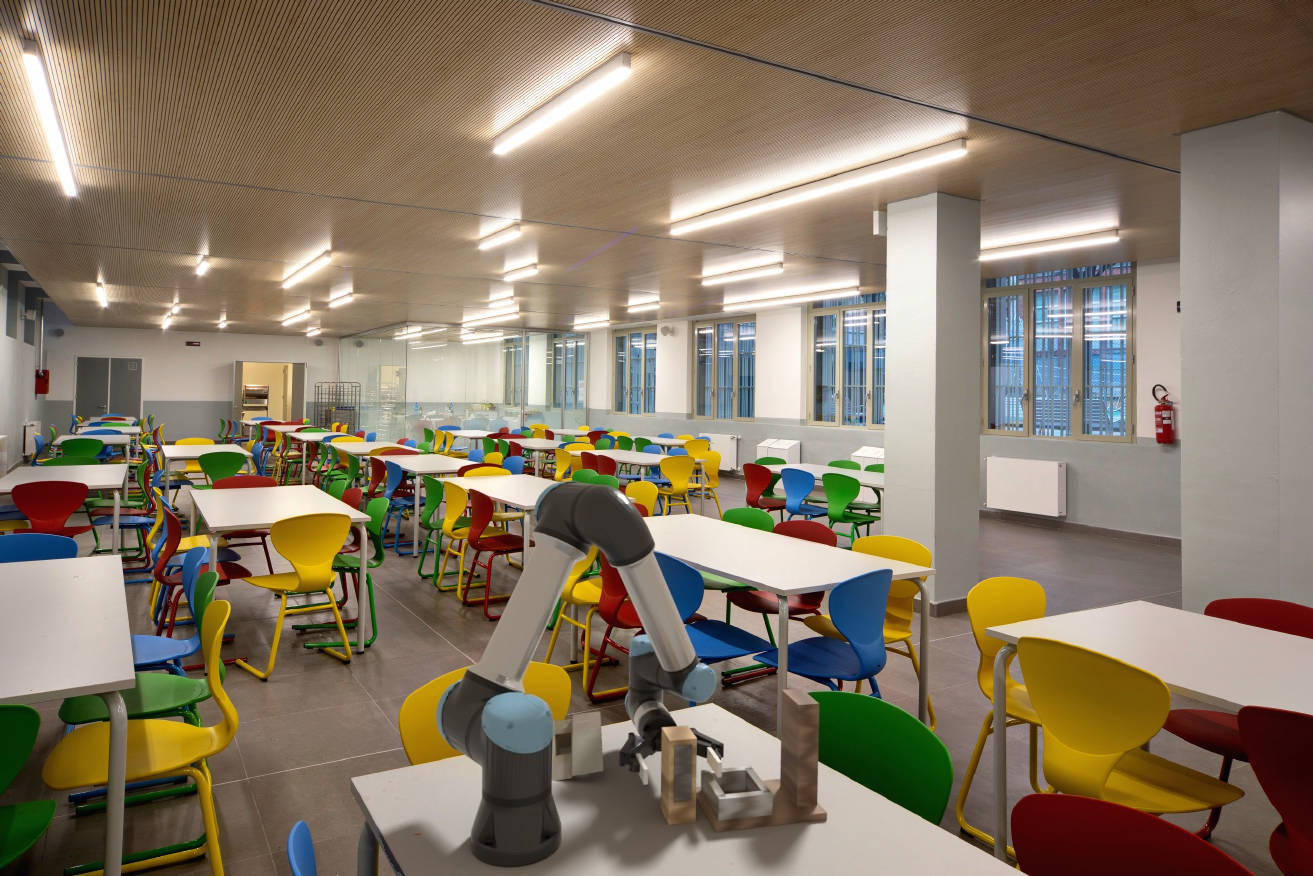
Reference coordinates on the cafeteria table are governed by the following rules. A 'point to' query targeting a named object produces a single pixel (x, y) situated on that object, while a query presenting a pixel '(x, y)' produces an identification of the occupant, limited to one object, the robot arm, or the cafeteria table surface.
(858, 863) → the cafeteria table surface
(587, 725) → the wall
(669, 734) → the block
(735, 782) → the wooden peg insertion stand
